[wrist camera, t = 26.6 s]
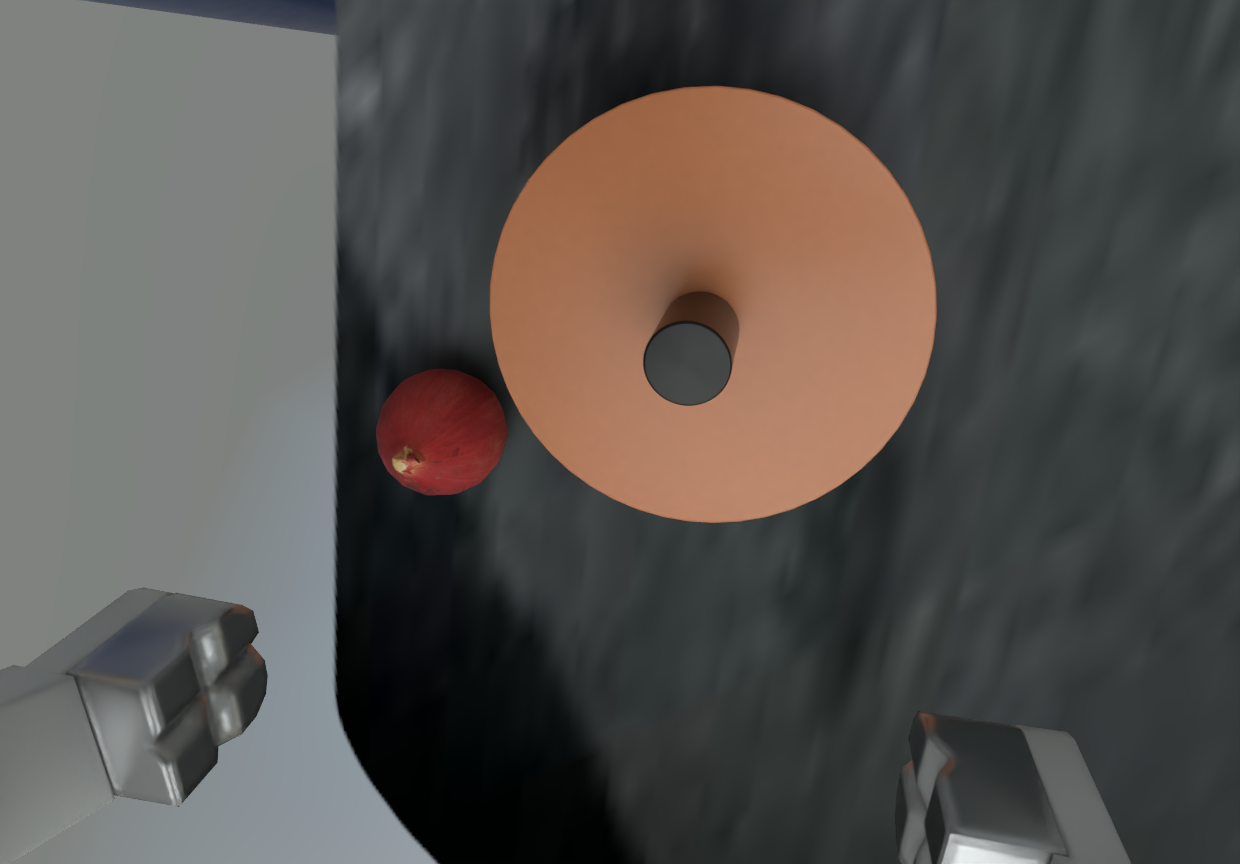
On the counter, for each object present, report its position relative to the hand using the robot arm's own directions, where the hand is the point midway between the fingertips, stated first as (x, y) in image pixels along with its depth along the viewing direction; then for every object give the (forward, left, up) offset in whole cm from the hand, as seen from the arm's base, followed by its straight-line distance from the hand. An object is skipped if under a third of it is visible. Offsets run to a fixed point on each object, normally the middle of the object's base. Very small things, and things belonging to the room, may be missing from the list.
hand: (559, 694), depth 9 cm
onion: (-12, -8, -27) cm, 31 cm away
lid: (0, 0, -17) cm, 17 cm away
